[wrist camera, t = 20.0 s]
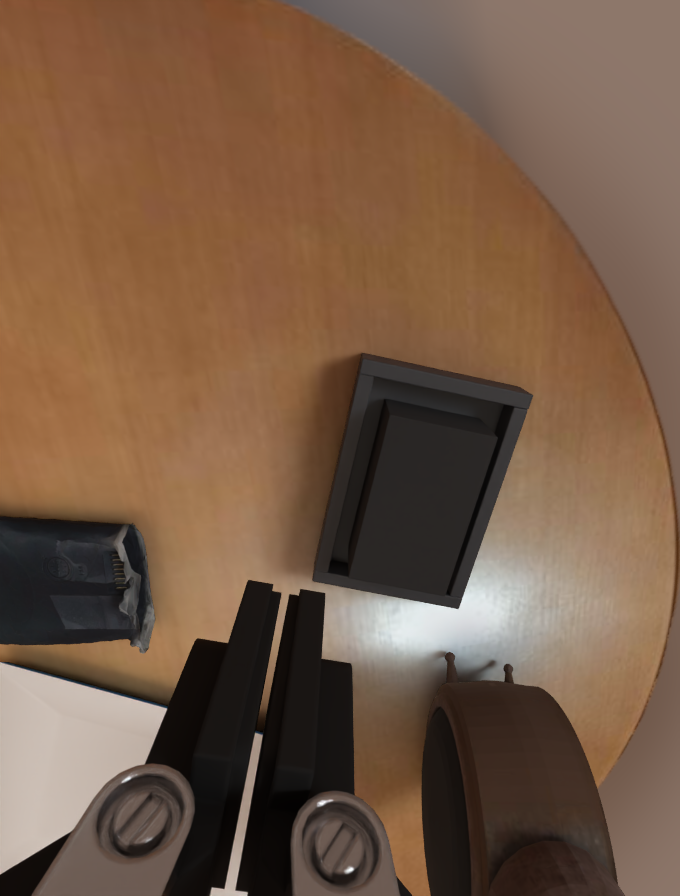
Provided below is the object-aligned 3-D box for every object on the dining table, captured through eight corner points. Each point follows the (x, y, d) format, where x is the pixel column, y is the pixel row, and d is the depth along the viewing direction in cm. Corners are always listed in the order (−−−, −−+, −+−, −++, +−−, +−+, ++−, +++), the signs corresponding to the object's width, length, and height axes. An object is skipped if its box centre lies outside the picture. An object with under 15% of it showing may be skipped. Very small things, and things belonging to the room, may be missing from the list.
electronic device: (146, 487, 31) (-112, 500, 29) (123, 541, 26) (-189, 560, 25) (167, 598, 35) (-59, 614, 34) (150, 661, 31) (-115, 685, 29)
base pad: (361, 352, 27) (362, 358, 25) (520, 386, 27) (533, 395, 25) (314, 562, 31) (311, 581, 29) (451, 589, 32) (458, 609, 30)
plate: (12, 641, 34) (-9, 663, 32) (320, 727, 36) (318, 753, 34) (-22, 848, 41) (-40, 877, 39) (238, 910, 43) (233, 941, 41)
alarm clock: (421, 618, 33) (522, 1089, 14) (530, 623, 33) (783, 1101, 14) (403, 777, 37) (459, 1290, 18) (498, 781, 37) (653, 1299, 18)
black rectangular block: (384, 398, 27) (389, 414, 24) (480, 418, 27) (498, 437, 24) (347, 545, 30) (348, 578, 27) (434, 562, 30) (445, 596, 27)
